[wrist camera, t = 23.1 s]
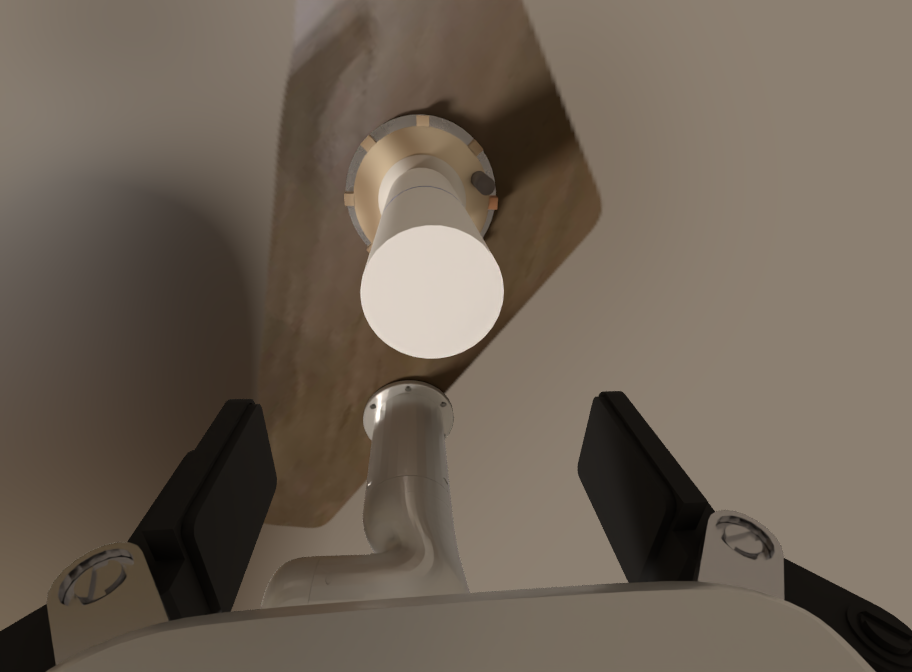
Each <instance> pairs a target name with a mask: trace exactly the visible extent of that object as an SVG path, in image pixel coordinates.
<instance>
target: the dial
mask: <svg viewBox="0 0 912 672" xmlns="http://www.w3.org/2000/svg"><path fill="white" fill-rule="evenodd" d="M360 145H361V146H362V147H363V148H364V149H365V150H366V151H367V152H368V153H367V154H366V155H365V157H364V159H363V160H362V162H361V164H360V166H359V169H358V171H357V175H356V178H355V183H354V191H346V192H345V193H344V198H345V206H355V212H356V215H357V219H358V221H359V224H360V226H361V228H362V230H363V232H364V233H365V235H366V236H367V238H368V239H369V241H370V242H371V243H370V244H369V245H368V247H367V251H368V252H369V253H370V251H371V248H372V245H373V241H374V238H375V235H376V232H377V229H378V225H379V222H380V219H381V216H382V213H383V209H384V206H385V203H386V200H387V197H388V194H389V191H390V188H391V186H392V184H393V183H394V181H395V180H396V179H397V178H398V177H399V176H400V175H401V174H403V173H404V172H406V171H408V170H411V169H414V168H428V169H433V170H435V171H437V172H439V173H440V174H442V175H443V176H444V177H446V179H447V180H448V181H449V182H450V183H451V185H452V187H453V188H454V190H455V192H456V194H457V195H458V197H459V199H460V200H461V202H462V204H463V206H464V207H465V209H466V211H467V212H468V214H469V216H470V218H471V219H472V221H473V223H474V224H475V226H476V228H477V229H478V231H479V233H481V231H482V229H483V226H484V224H485V222H486V218H487V214H488V209H493V210H497V206H498V197H497V196H496V195H490V194H492V193H493V191H494V189H495V182H494V181H493V179H491V178H490V177H489V176H488V175H486V174H485V172H484V169H483V167H482V165H481V163H480V161H479V159H478V158H477V156H478V155H479V154H480V153H481V152H482V151H483V148H482V147H481V146H480V145H479V143H478V142H477V141H476V140H475V139H473V140H472V141H471V142H470V143H469V144H468V145H466V144H465V143H464V142H463V141H461V140H460V139H459V138H457V137H456V136H454V135H452V134H451V133H448V132H446V131H444V130H441V129H438V128H434V127H429V116H424V115H416V126H411V127H405V128H402V129H399V130H396V131H394V132H392V133H390V134H388V135H386V136H385V137H383V138H382V139H380V140H379V141H378V142H376V141H375V139H374V138H373V137H372V136H371V135H368V137H367V138H366V139H365V140H364V141H363V142H362V143H361V144H360Z"/></svg>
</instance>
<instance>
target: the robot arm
mask: <svg viewBox="0 0 912 672" xmlns="http://www.w3.org/2000/svg"><path fill="white" fill-rule="evenodd" d="M453 421H454V417H453V410H452V405H451V403H450V401H449V399H448V398H447V397H446V395H445V394H444V393H443V392H442V391H440V390H439V389H438V388H436V387H434V386H433V385H431V384H428V383H425V382H421V381H415V380H404V381H398V382H394V383H391V384H388V385H386V386H384V387H382V388H381V389H379V390H378V391H377V392H375V393H374V394H373V395H372V397H371V398H370V399H369V401H368V403H367V404H366V407H365V411H364V417H363V423H364V428H365V431H366V433H367V435H368V436H369V438H370V439H371V440H372V445H371V453H370V461H369V469H368V477H367V486H366V493H365V502H364V509H363V526H364V532H365V535H366V538H367V540H368V543H369V545H370V547H371V548H372V550H373V552H374V553H371V554H370V555H341V556H315V557H314V556H313V557H302V558H297V559H293V560H291V561H288V562H286V563H285V564H283V565H282V566H281V567H279V568H278V570H277V571H276V572H275V573H274V575H273V576H272V578H271V580H270V582H269V584H268V586H267V588H266V591H265V594H264V598H263V601H262V604H261V609H256V610H245V611H234V612H230V611H231V609H232V607H233V604H234V601H235V598H236V596H237V593H238V590H239V588H240V585H241V582H242V579H243V577H244V574H245V571H246V569H247V566H248V563H249V561H250V558H251V555H252V552H253V550H254V547H255V544H256V541H257V539H258V536H259V533H260V530H261V528H262V525H263V522H264V520H265V517H266V514H267V512H268V509H269V506H270V503H271V501H272V498H273V495H274V493H275V490H276V484H277V477H276V472H275V467H274V462H273V458H272V453H271V448H270V444H269V439H268V434H267V430H266V425H265V420H264V416H263V411H262V407H261V405H260V404H255V403H254V401H253V400H252V399H230V400H228V401H227V402H226V403H225V405H224V406H223V408H222V409H221V411H220V412H219V414H218V415H217V417H216V418H215V420H214V421H213V423H212V424H211V426H210V427H209V429H208V430H207V432H206V433H205V435H204V437H203V438H202V440H201V441H200V443H199V444H198V446H197V447H196V449H195V450H192V451H190V452H189V453H188V454H187V455H186V456H185V457H184V458H183V460H182V461H181V463H180V464H179V466H178V467H177V469H176V470H175V472H174V473H173V475H172V476H171V478H170V479H169V481H168V482H167V484H166V485H165V487H164V488H163V490H162V491H161V493H160V494H159V496H158V497H157V499H156V500H155V502H154V503H153V505H152V506H151V507H150V509H149V510H148V512H147V513H146V515H145V516H144V518H143V519H142V521H141V522H140V524H139V525H138V527H137V528H136V530H135V531H134V533H133V534H132V536H131V537H130V539H129V540H128V542H117V543H111V544H107V545H104V546H101V547H99V548H96V549H94V550H91V551H90V552H88V553H86V554H84V555H83V556H81V557H79V558H78V559H76V560H75V561H74V562H73V563H71V564H70V565H69V566H68V567H66V568H65V569H64V570H63V571H62V572H61V574H60V575H59V576H58V577H57V578H56V579H55V580H54V582H53V584H52V586H51V588H50V590H49V591H48V595H47V604H46V605H44V606H42V607H41V608H39V609H37V610H36V611H34V612H32V613H31V614H29V615H27V616H25V617H24V618H22V619H20V620H19V621H17V622H15V623H14V624H12V625H10V626H9V627H7V628H5V629H4V630H2V631H0V672H912V630H911V629H910V628H909V627H908V626H906V625H905V624H904V623H902V622H901V621H900V620H899V619H898V618H896V617H895V616H894V615H892V614H890V613H889V612H887V611H885V610H884V609H882V608H880V607H879V606H877V605H874V604H873V603H871V602H869V601H867V600H865V599H863V598H861V597H859V596H857V595H855V594H853V593H851V592H849V591H847V590H845V589H843V588H842V587H840V586H838V585H836V584H834V583H832V582H830V581H828V580H826V579H824V578H822V577H820V576H818V575H816V574H814V573H812V572H810V571H808V570H806V569H804V568H802V567H801V566H798V565H796V564H795V563H793V562H791V561H789V560H787V559H785V558H784V556H783V551H782V547H781V545H780V543H779V542H778V540H777V538H776V537H775V536H774V535H773V534H772V533H771V532H770V531H769V530H768V529H767V528H766V527H765V526H763V525H762V524H761V523H759V522H758V521H757V520H755V519H753V518H751V517H749V516H747V515H745V514H742V513H739V512H736V511H729V510H721V511H716V512H715V511H714V510H713V508H712V507H711V506H710V504H709V503H708V501H707V500H706V498H705V497H704V496H703V495H702V493H701V492H700V491H699V490H698V488H697V487H696V486H695V484H694V483H693V482H692V481H691V479H690V478H689V477H688V475H687V474H686V473H685V471H684V470H683V469H682V468H681V466H680V465H679V464H678V462H677V461H676V460H675V458H674V457H673V456H672V455H671V453H670V452H669V451H668V449H667V448H666V447H665V445H664V444H663V443H662V442H661V440H660V439H659V438H658V436H657V435H656V434H655V433H654V431H653V430H652V429H651V427H650V426H649V425H648V424H647V422H646V421H645V420H644V418H643V417H642V416H641V414H640V413H639V412H638V411H637V409H636V408H635V407H634V406H633V404H632V403H631V402H630V400H629V399H628V398H627V396H626V395H625V394H624V393H623V392H621V391H612V392H611V391H609V392H601V393H600V394H599V397H595V398H594V400H593V403H592V407H591V411H590V416H589V420H588V424H587V428H586V432H585V437H584V441H583V445H582V449H581V453H580V457H579V462H578V475H579V478H580V480H581V482H582V484H583V486H584V488H585V491H586V493H587V495H588V497H589V499H590V501H591V503H592V506H593V508H594V510H595V512H596V514H597V516H598V518H599V520H600V523H601V525H602V527H603V529H604V531H605V533H606V536H607V538H608V540H609V542H610V544H611V546H612V548H613V551H614V553H615V555H616V557H617V559H618V561H619V563H620V565H621V568H622V570H623V572H624V574H625V576H626V578H627V580H628V582H629V583H616V584H597V585H582V586H567V587H551V588H536V589H520V590H506V591H492V592H477V593H470V592H469V588H468V585H467V581H466V577H465V574H464V571H463V567H462V563H461V560H460V557H459V552H458V548H457V542H456V536H455V530H454V522H453V514H452V504H451V495H450V486H449V476H448V466H447V456H446V447H445V438H447V436H448V435H449V433H450V431H451V429H452V426H453Z"/></svg>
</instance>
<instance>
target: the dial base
mask: <svg viewBox="0 0 912 672" xmlns="http://www.w3.org/2000/svg"><path fill="white" fill-rule="evenodd" d="M418 115H423V114H418ZM424 116H429V127H434V128H438V129H441V130H444V131H446V132H448V133H451V134H452V135H454V136H456V137H457V138H459V139H460V140H461V141H463V142H464V143H465V144H466V145H468V144H469V143H470V142H471V141H472V140H473V139H474V138H473V137H472V136H471V135H470V134H469V133H467V132H466V131H465V130H464V129H462V128H461V127H459V126H458V125H456V124H454V123H453V122H450V121H448V120H446V119H443V118H440V117H436V116H432V115H424ZM411 126H416V115H407V116H402V117H398V118H396V119H393V120H390V121H388V122H386V123H384V124H382V125H381V126H379V127H378V128H377V129H375V130H374V131H373V132H371V133H370V134H369V135H371V136H372V137H373V138H374V139H375V141H376V142H378V141H379V140H380V139H382V138H383V137H385V136H386V135H388V134H390V133H392V132H394V131H396V130H399V129H402V128H405V127H411ZM367 137H368V136H367ZM367 137H366V138H367ZM366 138H365V139H366ZM367 153H368V152H367V151H366V150H365V149H364V148H363V147H362V146H361V145H360V146H359V147H358V149H357V151H356V153H355V155H354V156H353V159H352V161H351V164H350V166H349V171H348V175H347V182H346V191H354V183H355V178H356V175H357V171H358V169H359V166H360V164H361V162H362V160H363V159H364V157H365V155H366V154H367ZM477 158H478V159H479V161H480V163H481V165H482V167H483V169H484V172H485V174H486V175H488V176H489V177H490V178H491V179H493V181H494V182H495V180H494V175H493V171H492V168H491V166H490V163H489V160H488V158H487V157H486V155H485V153H484V151H482V152H481V153H480V154H479V155H478V156H477ZM490 195H496V188H495V189H494V191H493V193H492V194H490ZM348 211H349V214H350V218H351V220H352V222H353V225H354V227H355V229H356V230H357V232H358V234H359V236H360V237H361V238H362V240H363V241H364V242H365V243H366V245H367V246H368V245H369V244H370V243H371V242H370V241H369V239H368V238H367V236H366V235H365V233H364V232H363V230H362V228H361V226H360V224H359V221H358V219H357V215H356V212H355V206H348ZM493 213H494V210H493V209H488V214H487V218H486V222H485V224H484V226H483V229H482V231H481V233H480V235H481V236H482V238H483V237H484V235H485V233H486V231H487V230H488V228H489V225H490V223H491V220H492V217H493Z"/></svg>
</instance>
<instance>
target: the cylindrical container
mask: <svg viewBox="0 0 912 672" xmlns="http://www.w3.org/2000/svg"><path fill="white" fill-rule="evenodd" d="M360 292H361V304H362V308H363V311H364V314H365V317H366V319H367V321H368V323H369V325H370V327H371V328H372V329H373V330H374V332H375V333H376V334H377V336H378V337H379V338H381V339H382V340H383V341H384V342H385V343H386V344H388V345H389V346H391V347H392V348H394V349H396V350H398V351H399V352H402V353H405V354H407V355H410V356H413V357H420V358H443V357H448V356H453V355H455V354H458V353H461V352H463V351H465V350H467V349H469V348H471V347H472V346H474V345H475V344H476V343H478V342H479V341H480V340H481V339H483V338H484V337H485V336H486V334H487V333H488V332H489V331H490V330H491V328H492V327H493V325H494V323H495V322H496V320H497V318H498V316H499V313H500V310H501V307H502V303H503V293H504V288H503V279H502V275H501V272H500V269H499V266H498V264H497V263H496V261H495V259H494V257H493V255H492V254H491V252H490V250H489V248H488V247H487V245H486V243H485V241H484V240H483V238H482V236H481V235H480V233H479V231H478V229H477V228H476V226H475V224H474V223H473V221H472V219H471V218H470V216H469V214H468V212H467V211H466V209H465V207H464V206H463V204H462V202H461V200H460V199H459V197H458V195H457V194H456V192H455V190H454V188H453V187H452V185H451V183H450V182H449V181H448V180H447V179H446V177H444V176H443V175H442V174H440V173H439V172H437V171H435V170H433V169H428V168H414V169H411V170H408V171H406V172H404V173H403V174H401V175H400V176H399V177H398V178H397V179H396V180H395V181H394V183H393V184H392V186H391V188H390V191H389V194H388V197H387V200H386V203H385V206H384V209H383V213H382V216H381V219H380V222H379V225H378V229H377V232H376V235H375V238H374V241H373V245H372V248H371V251H370V254H369V257H368V261H367V264H366V267H365V270H364V273H363V277H362V283H361V290H360Z"/></svg>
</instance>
